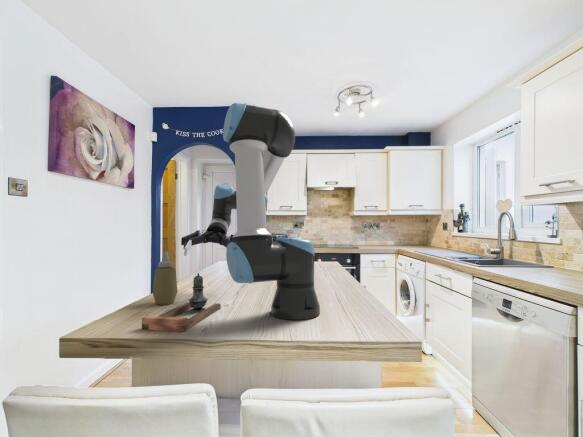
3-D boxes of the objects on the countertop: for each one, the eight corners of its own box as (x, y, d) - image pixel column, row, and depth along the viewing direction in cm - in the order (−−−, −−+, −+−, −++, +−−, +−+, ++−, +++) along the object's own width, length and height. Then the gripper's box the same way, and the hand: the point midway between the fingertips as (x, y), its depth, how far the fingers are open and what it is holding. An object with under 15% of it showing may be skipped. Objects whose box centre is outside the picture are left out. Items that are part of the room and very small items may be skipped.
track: (220, 308, 99) (220, 299, 99) (183, 332, 77) (183, 320, 77) (187, 306, 101) (187, 297, 102) (141, 329, 79) (141, 317, 79)
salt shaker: (201, 313, 93) (202, 274, 93) (184, 312, 94) (184, 274, 94) (210, 308, 99) (211, 271, 99) (194, 307, 100) (194, 271, 100)
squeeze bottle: (171, 306, 102) (172, 252, 103) (148, 306, 102) (148, 252, 103) (181, 300, 110) (181, 250, 111) (158, 300, 110) (159, 250, 111)
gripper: (248, 243, 120) (244, 268, 100) (183, 235, 117) (166, 260, 97) (250, 225, 118) (247, 248, 98) (184, 217, 115) (167, 238, 95)
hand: (207, 254), depth 98 cm, fingers open, 13 cm apart
